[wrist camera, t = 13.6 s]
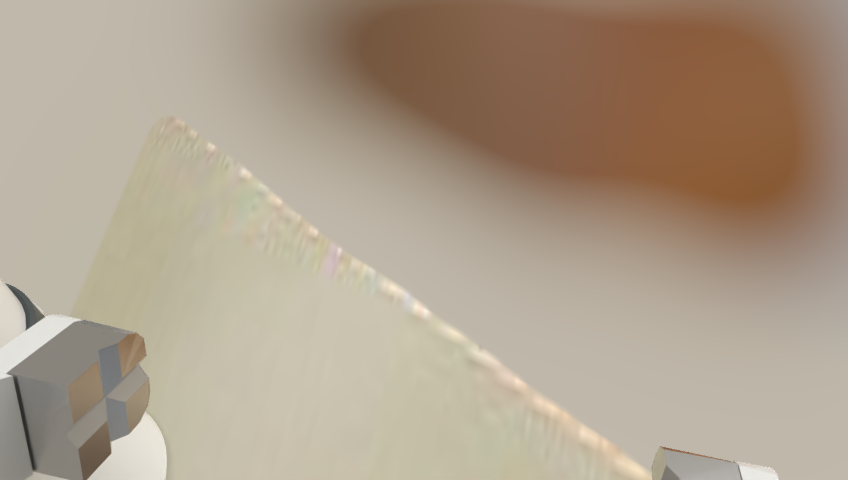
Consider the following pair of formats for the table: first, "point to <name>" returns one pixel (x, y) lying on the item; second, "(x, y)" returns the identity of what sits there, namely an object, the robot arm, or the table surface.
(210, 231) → the table surface
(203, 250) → the table surface
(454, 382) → the table surface
